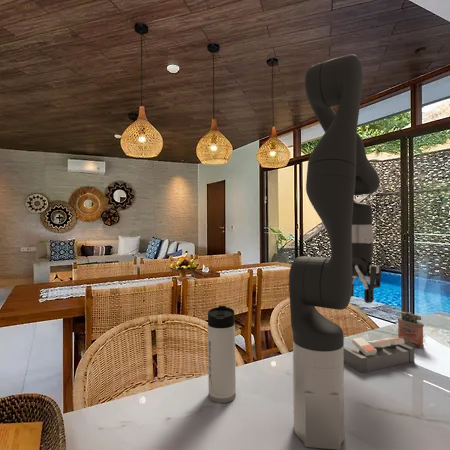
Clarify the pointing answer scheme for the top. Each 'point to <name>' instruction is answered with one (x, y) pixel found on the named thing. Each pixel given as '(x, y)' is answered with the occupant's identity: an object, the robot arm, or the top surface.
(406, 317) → the lighter
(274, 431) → the top surface
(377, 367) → the dark grey slotted base
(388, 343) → the rocker middle
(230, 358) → the travel mug
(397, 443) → the top surface
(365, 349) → the rocker near
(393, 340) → the rocker far
